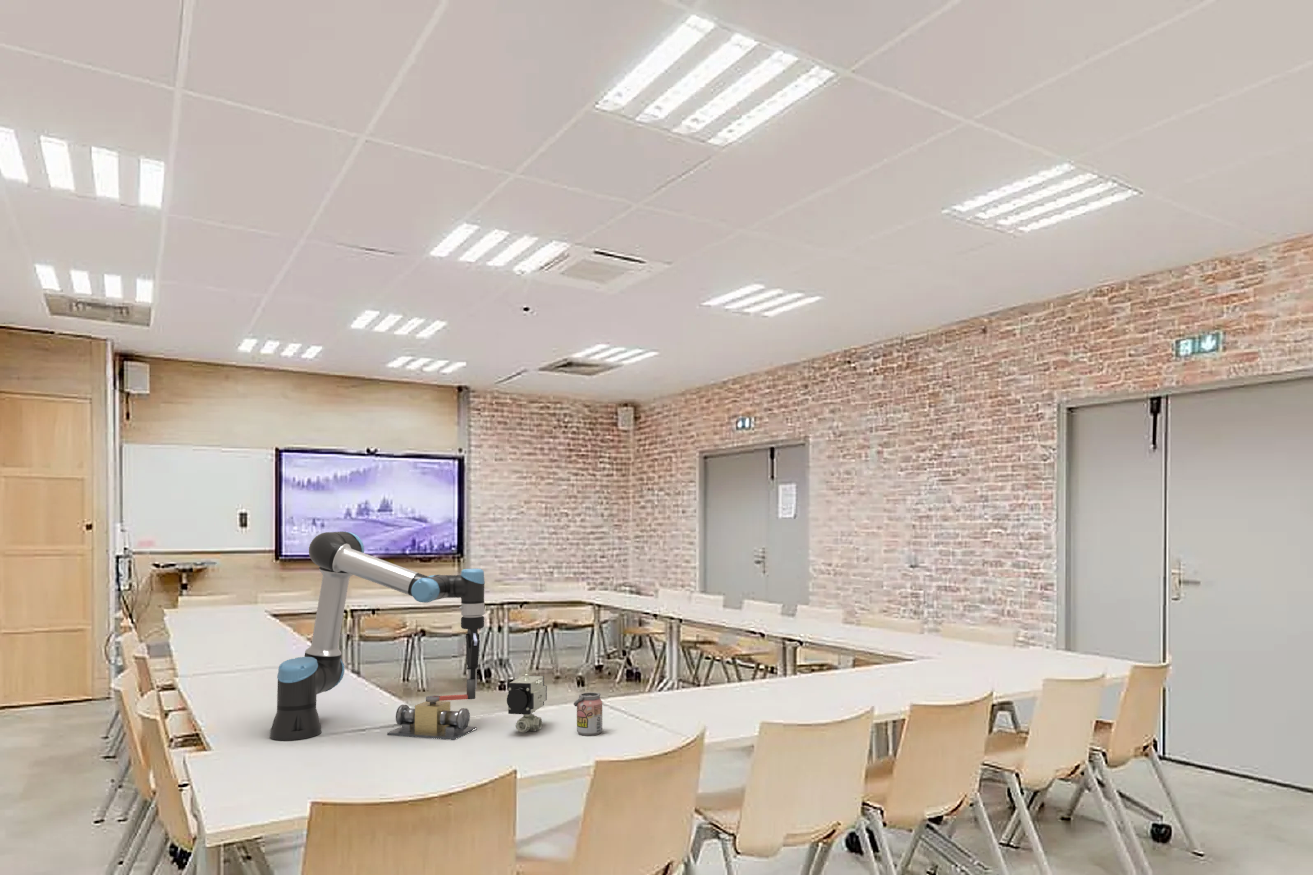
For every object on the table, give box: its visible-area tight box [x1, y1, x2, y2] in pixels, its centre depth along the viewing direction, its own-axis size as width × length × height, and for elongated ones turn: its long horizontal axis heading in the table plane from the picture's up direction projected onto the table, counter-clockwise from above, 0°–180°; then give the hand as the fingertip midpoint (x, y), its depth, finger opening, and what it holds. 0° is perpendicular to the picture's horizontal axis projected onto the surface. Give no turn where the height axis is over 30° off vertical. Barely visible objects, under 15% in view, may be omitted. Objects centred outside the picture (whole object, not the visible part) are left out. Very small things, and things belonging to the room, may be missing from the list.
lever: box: [425, 678, 476, 702], centre depth 276 cm, size 16×4×6 cm, turn 104°
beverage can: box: [573, 691, 603, 737], centre depth 271 cm, size 9×8×12 cm
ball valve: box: [506, 673, 548, 734], centre depth 275 cm, size 18×8×18 cm, turn 168°
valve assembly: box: [386, 700, 478, 741], centre depth 274 cm, size 24×14×10 cm, turn 73°
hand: (472, 688), depth 280 cm, fingers closed
